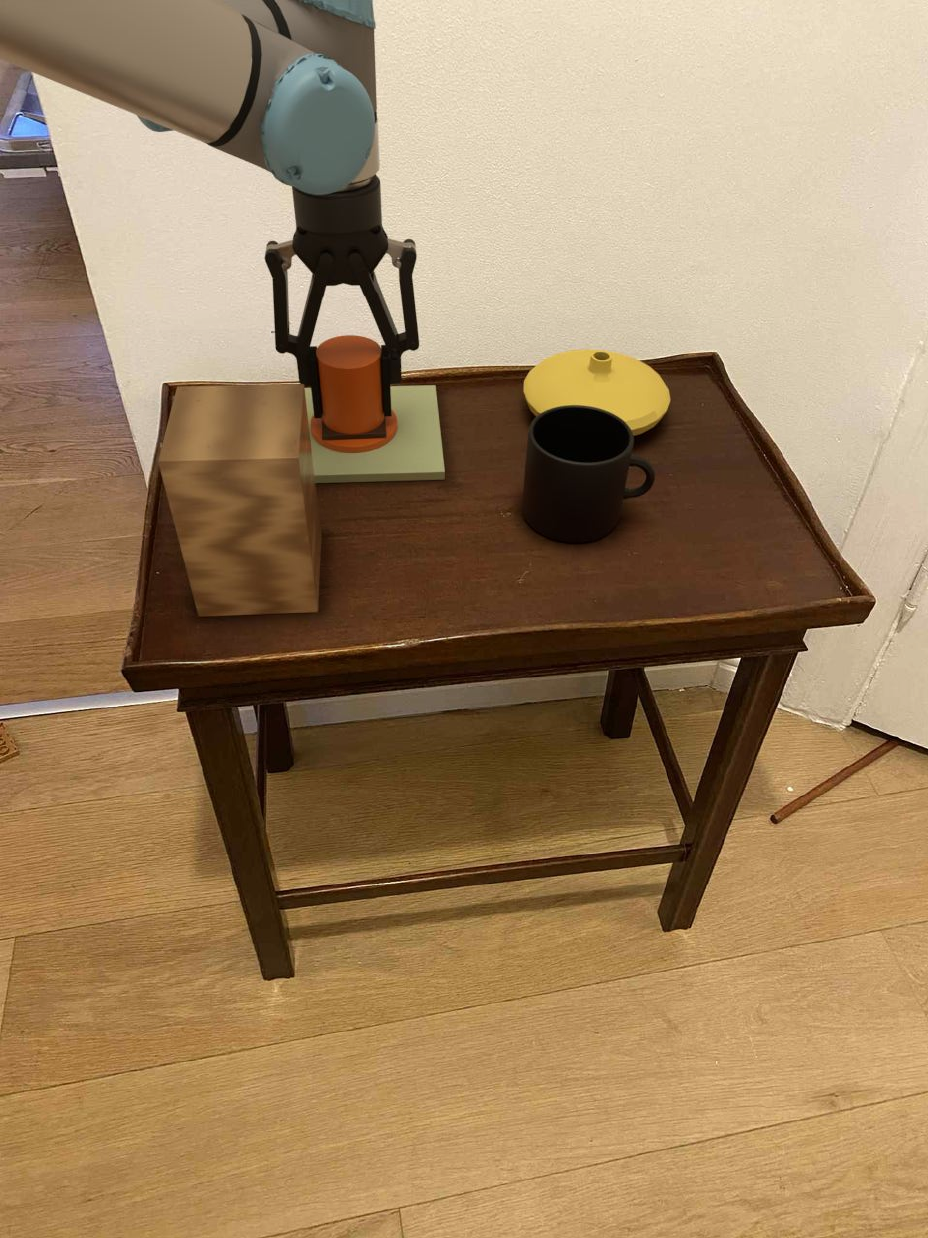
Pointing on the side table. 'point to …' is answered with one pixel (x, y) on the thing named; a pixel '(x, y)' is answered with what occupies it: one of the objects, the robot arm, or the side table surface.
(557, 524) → the mug
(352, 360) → the hat
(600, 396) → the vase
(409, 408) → the mat
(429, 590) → the side table surface
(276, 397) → the block
